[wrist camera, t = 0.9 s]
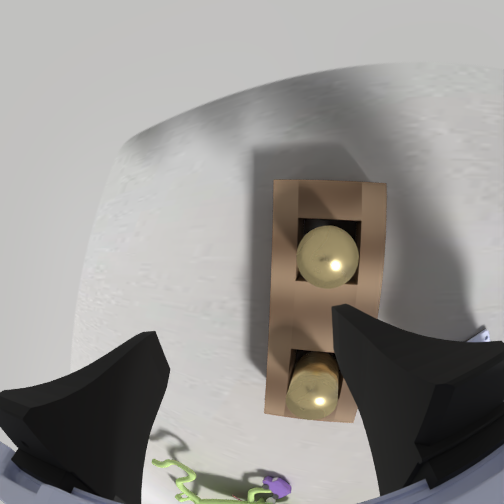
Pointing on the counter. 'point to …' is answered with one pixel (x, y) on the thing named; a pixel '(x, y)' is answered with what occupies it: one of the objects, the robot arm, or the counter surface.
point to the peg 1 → (327, 257)
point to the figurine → (269, 486)
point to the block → (309, 296)
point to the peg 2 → (314, 386)
